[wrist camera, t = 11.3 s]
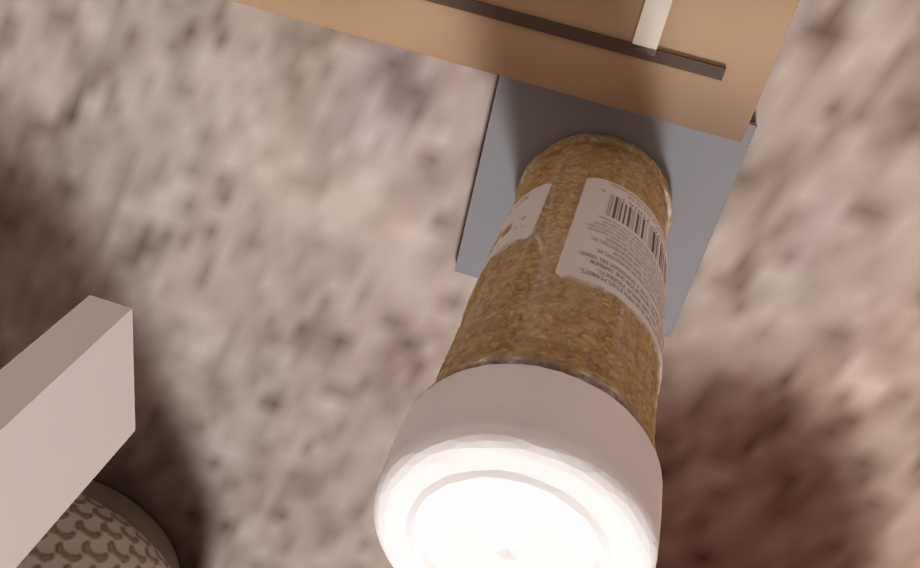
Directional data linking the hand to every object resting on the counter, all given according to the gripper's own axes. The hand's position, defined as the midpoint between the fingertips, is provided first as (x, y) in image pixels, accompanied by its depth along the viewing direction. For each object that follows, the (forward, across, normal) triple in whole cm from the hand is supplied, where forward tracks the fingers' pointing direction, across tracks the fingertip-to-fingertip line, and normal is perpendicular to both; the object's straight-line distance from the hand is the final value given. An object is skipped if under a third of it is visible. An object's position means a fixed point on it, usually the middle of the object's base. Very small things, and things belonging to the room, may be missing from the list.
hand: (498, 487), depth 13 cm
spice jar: (+13, +1, 0) cm, 13 cm away
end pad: (+13, 0, 0) cm, 13 cm away
